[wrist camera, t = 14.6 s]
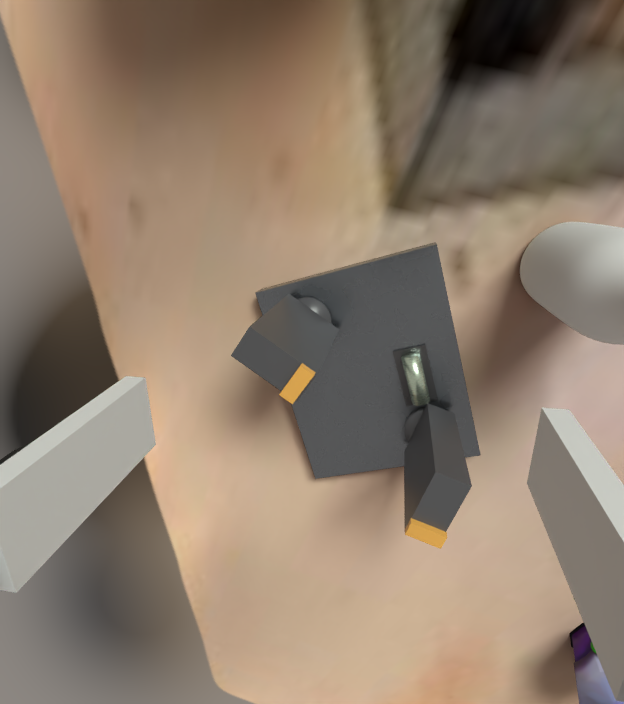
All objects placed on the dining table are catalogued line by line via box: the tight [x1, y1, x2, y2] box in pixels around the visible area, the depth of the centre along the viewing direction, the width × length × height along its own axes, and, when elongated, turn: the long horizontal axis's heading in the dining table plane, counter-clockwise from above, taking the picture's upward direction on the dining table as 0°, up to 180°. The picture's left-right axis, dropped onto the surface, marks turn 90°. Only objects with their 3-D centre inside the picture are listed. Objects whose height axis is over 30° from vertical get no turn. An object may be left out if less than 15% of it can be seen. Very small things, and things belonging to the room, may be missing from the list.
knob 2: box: [404, 403, 472, 549], centre depth 40 cm, size 6×5×14 cm
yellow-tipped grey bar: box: [231, 294, 339, 404], centre depth 39 cm, size 6×5×14 cm
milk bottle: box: [520, 222, 624, 345], centre depth 31 cm, size 8×8×20 cm
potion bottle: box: [570, 623, 624, 704], centre depth 47 cm, size 9×9×12 cm
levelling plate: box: [256, 243, 480, 479], centre depth 46 cm, size 22×18×4 cm
